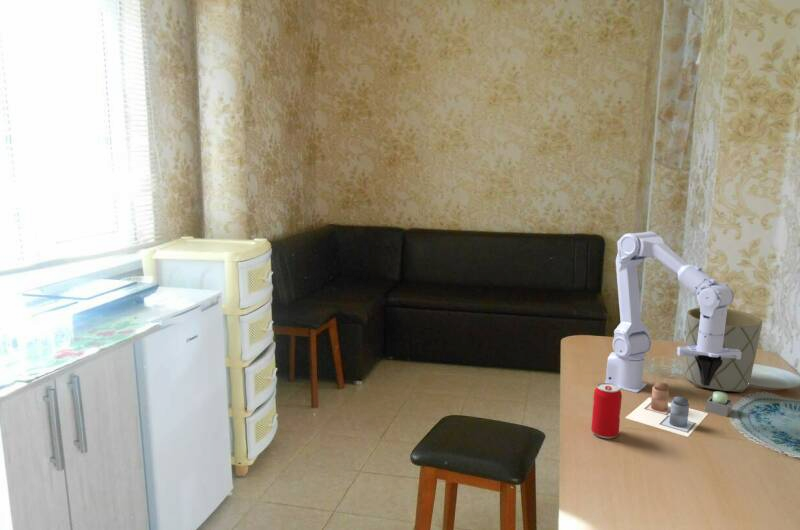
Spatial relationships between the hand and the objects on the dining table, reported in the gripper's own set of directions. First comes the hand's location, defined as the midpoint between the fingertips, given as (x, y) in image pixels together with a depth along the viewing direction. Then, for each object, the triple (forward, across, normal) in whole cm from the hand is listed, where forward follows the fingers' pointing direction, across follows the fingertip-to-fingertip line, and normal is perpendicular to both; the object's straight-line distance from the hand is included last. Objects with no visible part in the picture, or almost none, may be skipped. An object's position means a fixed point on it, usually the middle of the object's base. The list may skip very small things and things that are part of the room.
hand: (705, 384), depth 156 cm
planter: (+9, +12, +25) cm, 29 cm away
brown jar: (+9, -9, +3) cm, 13 cm away
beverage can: (+9, -26, -13) cm, 31 cm away
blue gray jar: (+9, -7, -5) cm, 13 cm away
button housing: (+9, +6, +4) cm, 11 cm away
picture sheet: (+9, -9, -1) cm, 12 cm away
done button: (+7, +6, +4) cm, 10 cm away
